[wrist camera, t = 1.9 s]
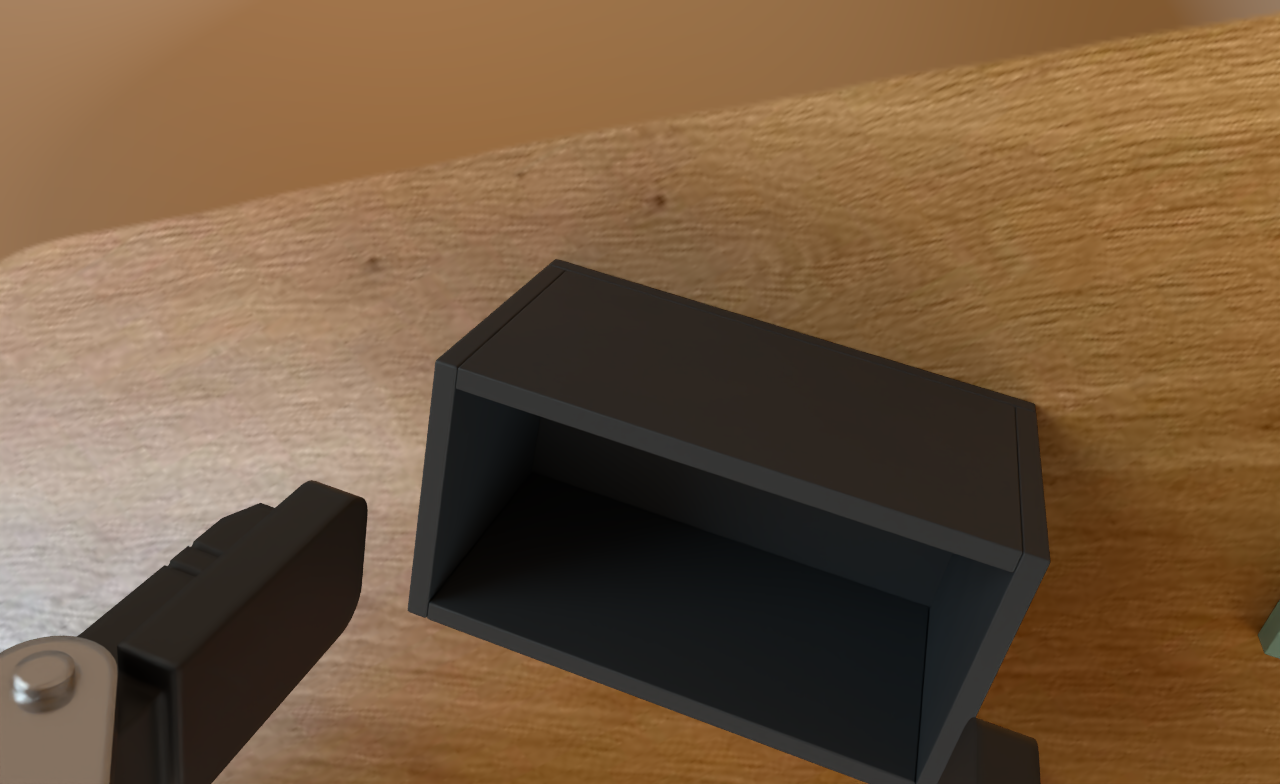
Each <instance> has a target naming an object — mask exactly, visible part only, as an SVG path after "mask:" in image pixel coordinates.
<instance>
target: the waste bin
mask: <svg viewBox="0 0 1280 784" xmlns="http://www.w3.org/2000/svg"><path fill="white" fill-rule="evenodd" d="M1049 564H1050V552H1049V541H1048V531H1047V521H1046V510H1045V500H1044V489H1043V479H1042V469H1041V458H1040V448H1039V438H1038V427H1037V417H1036V410H1035V404H1033V403H1030V402H1027V401H1023V400H1020V399H1017V398H1014V397H1010V396H1007V395H1004V394H1000V393H997V392H994V391H990V390H987V389H984V388H981V387H977V386H974V385H971V384H967V383H964V382H961V381H957V380H954V379H951V378H947V377H944V376H941V375H938V374H934V373H931V372H928V371H924V370H921V369H918V368H914V367H911V366H908V365H904V364H901V363H898V362H895V361H891V360H888V359H885V358H881V357H878V356H875V355H871V354H868V353H865V352H862V351H858V350H855V349H852V348H848V347H845V346H842V345H838V344H835V343H832V342H828V341H825V340H822V339H819V338H815V337H812V336H809V335H805V334H802V333H799V332H795V331H792V330H789V329H786V328H782V327H779V326H776V325H772V324H769V323H766V322H762V321H759V320H756V319H752V318H749V317H746V316H743V315H739V314H736V313H733V312H729V311H726V310H723V309H719V308H716V307H713V306H709V305H706V304H703V303H700V302H696V301H693V300H690V299H686V298H683V297H680V296H676V295H673V294H670V293H667V292H663V291H660V290H657V289H653V288H650V287H647V286H643V285H640V284H637V283H633V282H630V281H627V280H624V279H620V278H617V277H614V276H610V275H607V274H604V273H600V272H597V271H594V270H591V269H587V268H584V267H581V266H577V265H574V264H571V263H567V262H564V261H561V260H557V259H555V260H554V261H553V262H551V263H550V264H549V265H548V266H547V267H546V268H544V269H543V270H542V271H541V272H540V273H538V274H537V275H536V276H535V277H534V278H533V279H531V280H530V281H529V282H528V283H527V284H526V285H524V286H523V287H522V288H521V289H520V290H518V291H517V292H516V293H515V294H514V295H513V296H511V297H510V298H509V299H508V300H507V301H505V302H504V303H503V304H502V305H501V306H500V307H498V308H497V309H496V310H495V311H494V312H493V313H491V314H490V315H489V316H488V317H487V318H485V319H484V320H483V321H482V322H481V323H480V324H478V325H477V326H476V327H475V328H474V329H472V330H471V331H470V332H469V333H468V334H467V335H465V336H464V337H463V338H462V339H461V340H460V341H458V342H457V343H456V344H455V345H454V346H452V347H451V348H450V349H449V350H448V351H447V352H445V353H444V354H443V355H442V356H441V357H439V358H438V359H437V360H436V363H435V372H434V381H433V389H432V398H431V407H430V416H429V425H428V434H427V443H426V452H425V460H424V469H423V478H422V487H421V496H420V505H419V514H418V523H417V531H416V540H415V549H414V558H413V567H412V576H411V585H410V594H409V603H408V611H409V612H411V613H413V614H416V615H419V616H421V617H424V618H426V617H427V618H428V619H429V620H432V621H435V622H437V623H440V624H443V625H445V626H448V627H451V628H453V629H456V630H459V631H461V632H464V633H467V634H469V635H472V636H475V637H477V638H480V639H483V640H485V641H488V642H491V643H494V644H496V645H499V646H502V647H504V648H507V649H510V650H512V651H515V652H518V653H520V654H523V655H526V656H528V657H531V658H534V659H536V660H539V661H542V662H544V663H547V664H550V665H552V666H555V667H558V668H560V669H563V670H566V671H569V672H571V673H574V674H577V675H579V676H582V677H585V678H587V679H590V680H593V681H595V682H598V683H601V684H603V685H606V686H609V687H611V688H614V689H617V690H619V691H622V692H625V693H627V694H630V695H633V696H635V697H638V698H641V699H644V700H646V701H649V702H652V703H654V704H657V705H660V706H662V707H665V708H668V709H670V710H673V711H676V712H678V713H681V714H684V715H686V716H689V717H692V718H694V719H697V720H700V721H702V722H705V723H708V724H710V725H713V726H716V727H718V728H721V729H724V730H727V731H729V732H732V733H735V734H737V735H740V736H743V737H745V738H748V739H751V740H753V741H756V742H759V743H761V744H764V745H767V746H769V747H772V748H775V749H777V750H780V751H783V752H785V753H788V754H791V755H793V756H796V757H799V758H802V759H804V760H807V761H810V762H812V763H815V764H818V765H820V766H823V767H826V768H828V769H831V770H834V771H836V772H839V773H842V774H844V775H847V776H850V777H852V778H855V779H858V780H860V781H863V782H866V783H868V784H937V783H938V781H939V779H940V777H941V775H942V773H943V771H944V769H945V767H946V765H947V762H948V760H949V758H950V756H951V754H952V752H953V750H954V748H955V746H956V744H957V742H958V739H959V737H960V735H961V733H962V731H963V729H964V727H965V725H966V724H967V722H968V721H969V720H970V719H971V718H972V717H976V715H977V713H978V711H979V709H980V707H981V705H982V703H983V701H984V699H985V697H986V695H987V692H988V690H989V688H990V686H991V684H992V682H993V680H994V678H995V676H996V674H997V672H998V670H999V668H1000V666H1001V664H1002V661H1003V659H1004V657H1005V655H1006V653H1007V651H1008V649H1009V647H1010V645H1011V643H1012V641H1013V639H1014V637H1015V635H1016V632H1017V630H1018V628H1019V626H1020V624H1021V622H1022V620H1023V618H1024V616H1025V614H1026V612H1027V610H1028V608H1029V606H1030V603H1031V601H1032V599H1033V597H1034V595H1035V593H1036V591H1037V589H1038V587H1039V585H1040V583H1041V581H1042V579H1043V577H1044V574H1045V572H1046V570H1047V568H1048V566H1049Z"/></svg>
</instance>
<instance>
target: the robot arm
mask: <svg viewBox="0 0 1280 784" xmlns="http://www.w3.org/2000/svg"><path fill="white" fill-rule="evenodd" d="M367 512H368V509H367V503H366V501H365V499H363V498H362V497H359V496H356V495H353V494H350V493H348V492H345V491H342V490H339V489H336V488H334V487H331V486H328V485H325V484H322V483H319V482H317V481H313V480H311V481H308V482H306V483H304V484H303V485H301V486H300V487H299V488H298V489H297V490H295V491H294V492H293V493H292V494H291V495H290V496H289V497H287V498H286V499H285V500H284V501H283V502H282V503H280V504H279V505H278V506H277V507H276V508H273V507H271V506H268V505H265V504H262V503H259V504H257V505H254V506H252V507H249V508H247V509H244V510H241V511H239V512H236V513H234V514H231V515H229V516H226V517H224V518H222V519H220V520H219V521H218V522H217V523H216V524H214V525H213V526H212V527H211V528H209V529H208V530H207V531H206V532H205V533H203V534H202V535H201V536H200V537H198V538H197V539H196V540H195V541H194V542H193V545H192V546H191V547H189V546H187V547H186V548H185V549H184V550H183V551H181V552H180V553H179V554H178V555H176V556H175V557H174V558H173V559H172V560H170V564H169V565H168V566H165V565H164V566H163V567H162V568H161V569H159V570H158V571H157V572H156V573H155V574H153V575H152V576H151V577H150V578H148V579H147V580H146V581H145V582H144V583H142V584H141V585H140V586H139V587H137V588H136V589H135V590H134V591H133V592H131V593H130V594H129V595H128V596H126V597H125V598H124V599H123V600H122V601H120V602H119V603H118V604H117V605H115V606H114V607H113V608H112V609H111V610H109V611H108V612H107V613H106V614H104V615H103V616H102V617H101V618H100V619H98V620H97V621H96V622H95V623H93V624H92V625H91V626H90V627H89V628H87V629H86V630H85V631H84V632H82V633H81V634H80V635H79V636H77V637H74V636H50V637H43V638H37V639H33V640H29V641H26V642H23V643H20V644H18V645H15V646H13V647H11V648H9V649H7V650H4V651H3V652H1V653H0V784H211V783H212V782H213V781H214V780H215V779H216V778H217V776H218V775H219V774H220V773H221V772H222V771H223V769H224V768H225V767H226V766H227V765H228V764H229V763H230V761H231V760H232V759H233V758H234V757H235V756H236V755H237V753H238V752H239V751H240V750H241V749H242V748H243V746H244V745H245V744H246V743H247V742H248V741H249V740H250V738H251V737H252V736H253V735H254V734H255V733H256V732H257V730H258V729H259V728H260V727H261V726H262V725H263V724H264V722H265V721H266V720H267V719H268V718H269V717H270V715H271V714H272V713H273V712H274V711H275V710H276V709H277V707H278V706H279V705H280V704H281V703H282V702H283V701H284V699H285V698H286V697H287V696H288V695H289V694H290V692H291V691H292V690H293V689H294V688H295V687H296V686H297V684H298V683H299V682H300V681H301V680H302V679H303V678H304V676H305V675H306V674H307V673H308V672H309V671H310V669H311V668H312V667H313V666H314V665H315V664H316V663H317V661H318V660H319V659H320V658H321V657H322V656H323V655H324V653H325V652H326V651H327V650H328V649H329V648H330V647H331V645H332V644H333V643H334V642H335V641H336V640H337V638H338V637H339V636H340V635H341V634H342V632H343V631H344V630H345V628H346V627H347V625H348V623H349V622H350V620H351V618H352V616H353V614H354V611H355V609H356V606H357V604H358V601H359V597H360V593H361V587H362V575H363V563H364V551H365V538H366V526H367ZM937 784H1040V767H1039V751H1038V744H1037V742H1036V740H1035V739H1034V738H1031V737H1028V736H1025V735H1022V734H1020V733H1017V732H1014V731H1011V730H1008V729H1006V728H1003V727H1000V726H997V725H994V724H992V723H989V722H986V721H983V720H980V719H978V718H975V717H972V718H971V719H970V720H969V721H968V722H967V724H966V725H965V727H964V729H963V731H962V733H961V735H960V737H959V739H958V742H957V744H956V746H955V748H954V750H953V752H952V754H951V756H950V758H949V760H948V762H947V765H946V767H945V769H944V771H943V773H942V775H941V777H940V779H939V781H938V783H937Z"/></svg>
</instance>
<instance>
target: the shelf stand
mask: <svg viewBox="0 0 1280 784" xmlns="http://www.w3.org/2000/svg"><path fill="white" fill-rule="evenodd" d="M1258 637H1259V640H1260V642H1261V645H1262V648H1263V651H1264V653H1265V654H1267V655H1270V656H1273V657H1276V658H1279V659H1280V600H1279V602H1278V603H1277V605H1276V607H1275V608H1274V610H1273V611H1272V613H1271V615H1270V616H1269V618H1268V619H1267V621H1266V622H1265V624H1264V626H1263V627H1262V629H1261V630H1260V632H1259V634H1258Z"/></svg>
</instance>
